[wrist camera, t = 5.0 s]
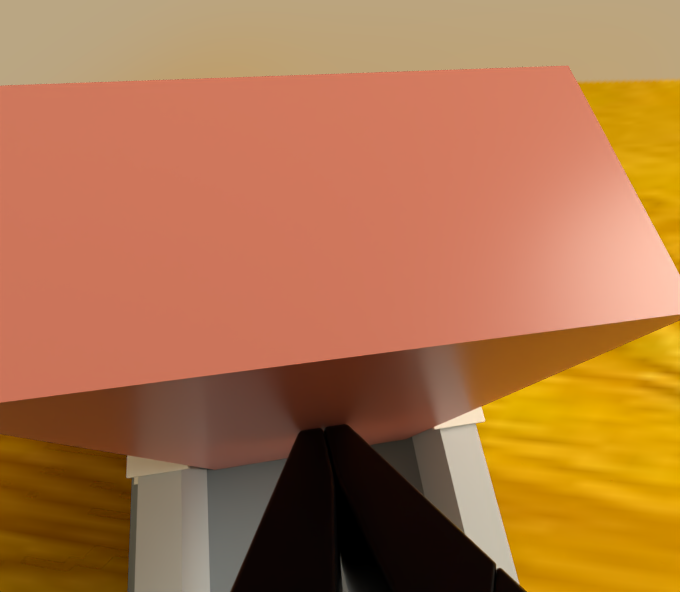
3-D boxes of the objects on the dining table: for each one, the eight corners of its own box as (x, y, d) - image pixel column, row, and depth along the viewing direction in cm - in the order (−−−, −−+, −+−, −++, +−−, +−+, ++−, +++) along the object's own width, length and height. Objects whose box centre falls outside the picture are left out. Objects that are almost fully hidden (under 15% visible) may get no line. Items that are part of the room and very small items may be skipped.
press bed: (543, 734, 12) (658, 852, 8) (133, 846, 10) (33, 1060, 6) (415, 245, 18) (446, 182, 14) (149, 271, 17) (103, 207, 13)
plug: (405, 439, 14) (699, 311, 4) (214, 469, 13) (-108, 416, 3) (387, 350, 15) (568, 65, 5) (211, 373, 14) (-21, 86, 4)
